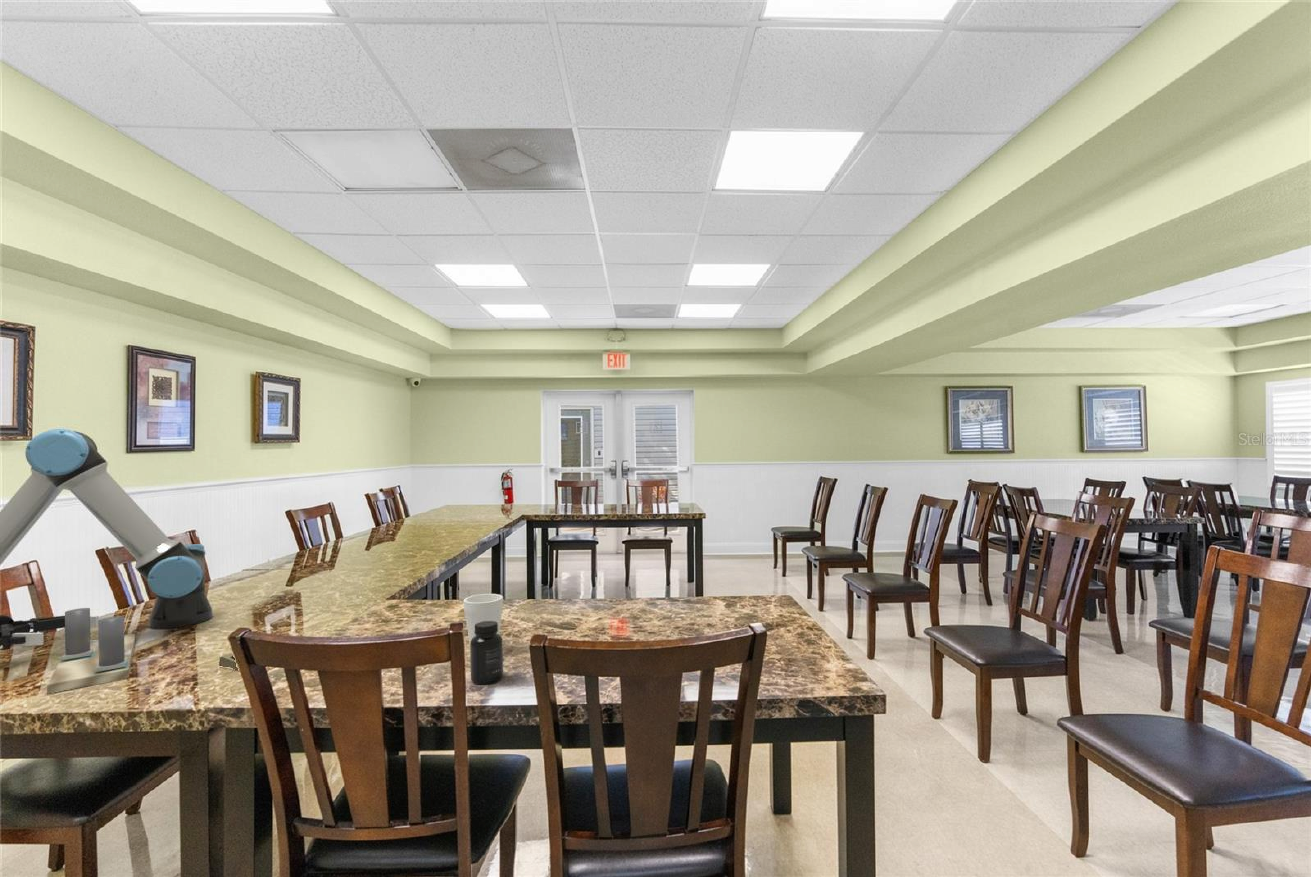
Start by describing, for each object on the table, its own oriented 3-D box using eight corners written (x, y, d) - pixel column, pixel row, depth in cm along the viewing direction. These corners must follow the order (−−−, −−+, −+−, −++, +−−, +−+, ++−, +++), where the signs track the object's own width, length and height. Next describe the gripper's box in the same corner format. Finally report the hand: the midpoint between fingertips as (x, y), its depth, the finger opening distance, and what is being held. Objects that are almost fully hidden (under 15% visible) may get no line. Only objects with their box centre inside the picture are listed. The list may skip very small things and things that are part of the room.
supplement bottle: (506, 672, 134) (505, 619, 134) (498, 685, 127) (497, 628, 128) (476, 673, 134) (475, 619, 134) (466, 685, 127) (465, 629, 128)
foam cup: (498, 657, 144) (497, 603, 145) (459, 658, 144) (458, 603, 145) (507, 644, 154) (506, 593, 154) (471, 645, 154) (470, 594, 154)
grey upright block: (93, 650, 149) (92, 606, 149) (91, 655, 145) (90, 610, 145) (65, 654, 146) (64, 610, 146) (62, 660, 142) (61, 614, 142)
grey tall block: (127, 660, 141) (126, 614, 141) (125, 666, 137) (125, 618, 137) (97, 666, 138) (97, 618, 138) (95, 672, 134) (95, 623, 134)
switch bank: (135, 640, 164) (135, 633, 164) (128, 678, 136) (128, 669, 136) (69, 651, 156) (69, 643, 156) (47, 694, 128) (47, 684, 128)
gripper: (37, 631, 158) (117, 629, 158) (-80, 665, 133) (15, 664, 133) (37, 602, 158) (117, 601, 158) (-80, 631, 133) (15, 630, 133)
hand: (71, 630), depth 145 cm, fingers open, 13 cm apart
